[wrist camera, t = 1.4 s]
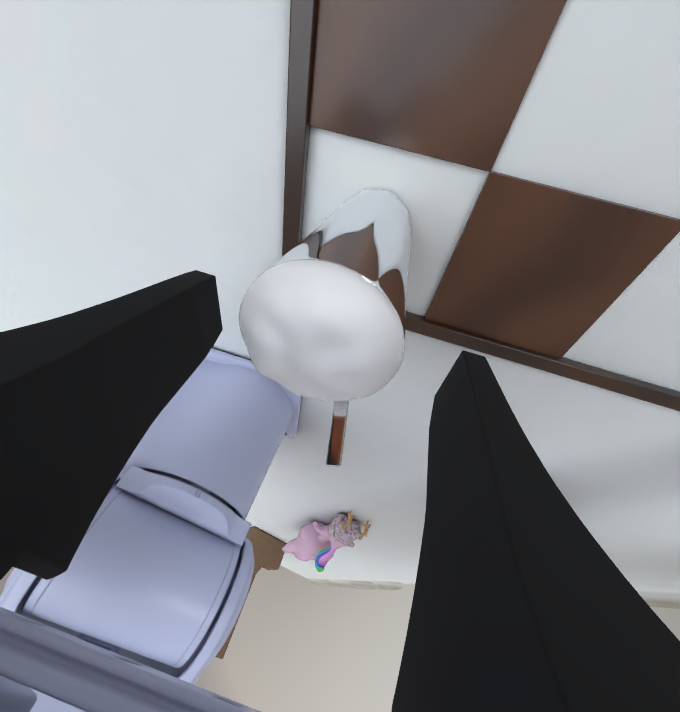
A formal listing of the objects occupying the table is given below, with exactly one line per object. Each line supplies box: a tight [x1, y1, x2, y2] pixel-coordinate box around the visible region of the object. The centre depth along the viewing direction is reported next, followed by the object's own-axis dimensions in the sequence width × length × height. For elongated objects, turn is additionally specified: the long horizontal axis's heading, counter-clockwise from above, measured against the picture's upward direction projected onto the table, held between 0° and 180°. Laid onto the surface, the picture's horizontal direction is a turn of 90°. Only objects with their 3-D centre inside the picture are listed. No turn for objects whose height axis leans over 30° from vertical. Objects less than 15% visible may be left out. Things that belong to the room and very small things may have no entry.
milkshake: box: [239, 188, 411, 466], centre depth 11 cm, size 4×5×10 cm
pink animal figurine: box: [282, 510, 370, 572], centre depth 40 cm, size 6×6×15 cm
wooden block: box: [215, 527, 286, 659], centre depth 48 cm, size 7×3×15 cm, turn 51°
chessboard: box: [282, 0, 680, 411], centre depth 12 cm, size 23×16×1 cm
